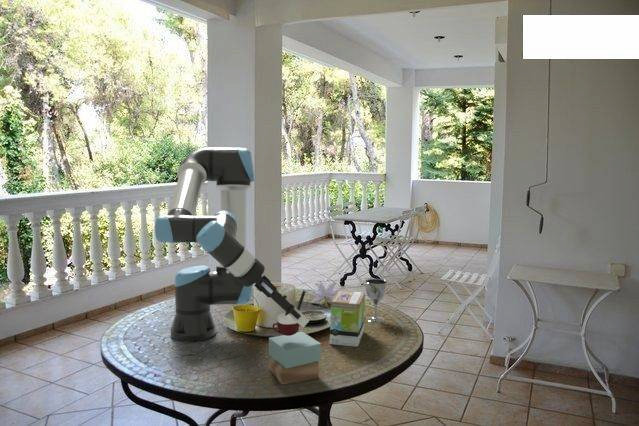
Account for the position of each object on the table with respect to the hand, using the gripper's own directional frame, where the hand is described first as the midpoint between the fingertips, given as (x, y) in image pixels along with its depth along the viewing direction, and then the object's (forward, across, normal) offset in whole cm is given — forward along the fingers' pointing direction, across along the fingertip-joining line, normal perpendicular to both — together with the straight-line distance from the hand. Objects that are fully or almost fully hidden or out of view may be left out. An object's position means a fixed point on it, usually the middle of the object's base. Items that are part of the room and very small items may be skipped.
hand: (302, 320), depth 145 cm
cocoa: (0, 0, -5) cm, 5 cm away
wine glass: (+40, -35, +18) cm, 56 cm away
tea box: (+28, -21, +6) cm, 35 cm away
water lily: (+33, -59, +11) cm, 68 cm away
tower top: (+6, 0, -9) cm, 11 cm away
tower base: (+10, 0, -13) cm, 16 cm away
